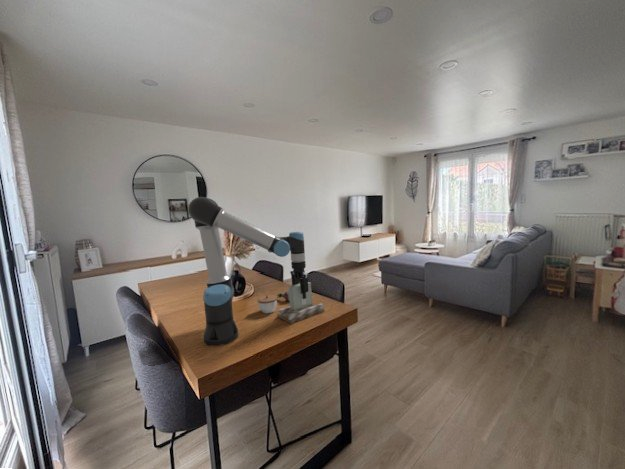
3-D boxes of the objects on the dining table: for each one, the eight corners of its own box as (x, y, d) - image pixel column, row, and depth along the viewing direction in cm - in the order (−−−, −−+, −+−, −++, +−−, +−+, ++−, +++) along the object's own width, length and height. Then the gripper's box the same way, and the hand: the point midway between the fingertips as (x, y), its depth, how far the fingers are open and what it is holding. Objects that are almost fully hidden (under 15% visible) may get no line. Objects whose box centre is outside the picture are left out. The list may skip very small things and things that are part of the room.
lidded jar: (275, 306, 154) (273, 291, 153) (279, 312, 144) (278, 296, 143) (257, 310, 150) (255, 294, 149) (260, 316, 140) (259, 300, 139)
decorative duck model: (273, 291, 162) (286, 284, 175) (275, 303, 163) (288, 294, 176) (292, 292, 155) (305, 284, 168) (295, 304, 156) (307, 295, 169)
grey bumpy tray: (291, 324, 129) (291, 316, 129) (277, 316, 139) (277, 309, 139) (324, 311, 143) (324, 304, 142) (309, 305, 153) (309, 298, 152)
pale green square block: (312, 303, 143) (310, 282, 142) (294, 310, 135) (292, 287, 134) (307, 302, 146) (306, 281, 145) (290, 308, 138) (288, 286, 137)
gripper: (313, 261, 134) (316, 305, 136) (294, 257, 147) (297, 297, 149) (302, 264, 129) (305, 309, 131) (283, 260, 142) (286, 301, 145)
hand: (301, 303), depth 140 cm, fingers closed on pale green square block, 4 cm apart
